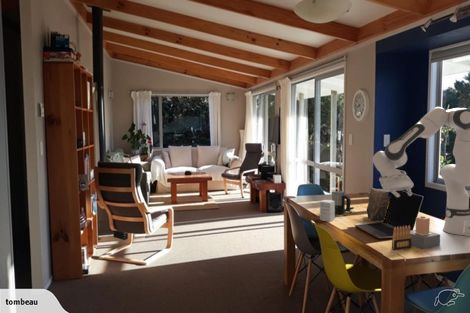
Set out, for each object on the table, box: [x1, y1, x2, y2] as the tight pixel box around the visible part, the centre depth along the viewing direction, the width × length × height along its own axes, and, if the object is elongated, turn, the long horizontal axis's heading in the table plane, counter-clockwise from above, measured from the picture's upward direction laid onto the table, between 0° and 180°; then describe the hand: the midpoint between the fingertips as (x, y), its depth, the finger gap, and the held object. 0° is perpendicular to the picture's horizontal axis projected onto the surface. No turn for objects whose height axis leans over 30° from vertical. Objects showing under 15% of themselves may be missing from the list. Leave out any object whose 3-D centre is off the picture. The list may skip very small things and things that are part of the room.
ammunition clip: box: [391, 224, 412, 251], centre depth 202 cm, size 11×2×12 cm, turn 107°
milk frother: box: [331, 190, 355, 215], centre depth 280 cm, size 14×16×15 cm
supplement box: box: [319, 199, 336, 223], centre depth 260 cm, size 7×7×13 cm
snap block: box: [415, 215, 431, 234], centre depth 207 cm, size 5×5×9 cm
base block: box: [410, 229, 441, 250], centre depth 208 cm, size 12×12×6 cm
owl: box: [366, 187, 390, 222], centre depth 259 cm, size 13×13×20 cm
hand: (404, 195), depth 217 cm, fingers open, 8 cm apart
